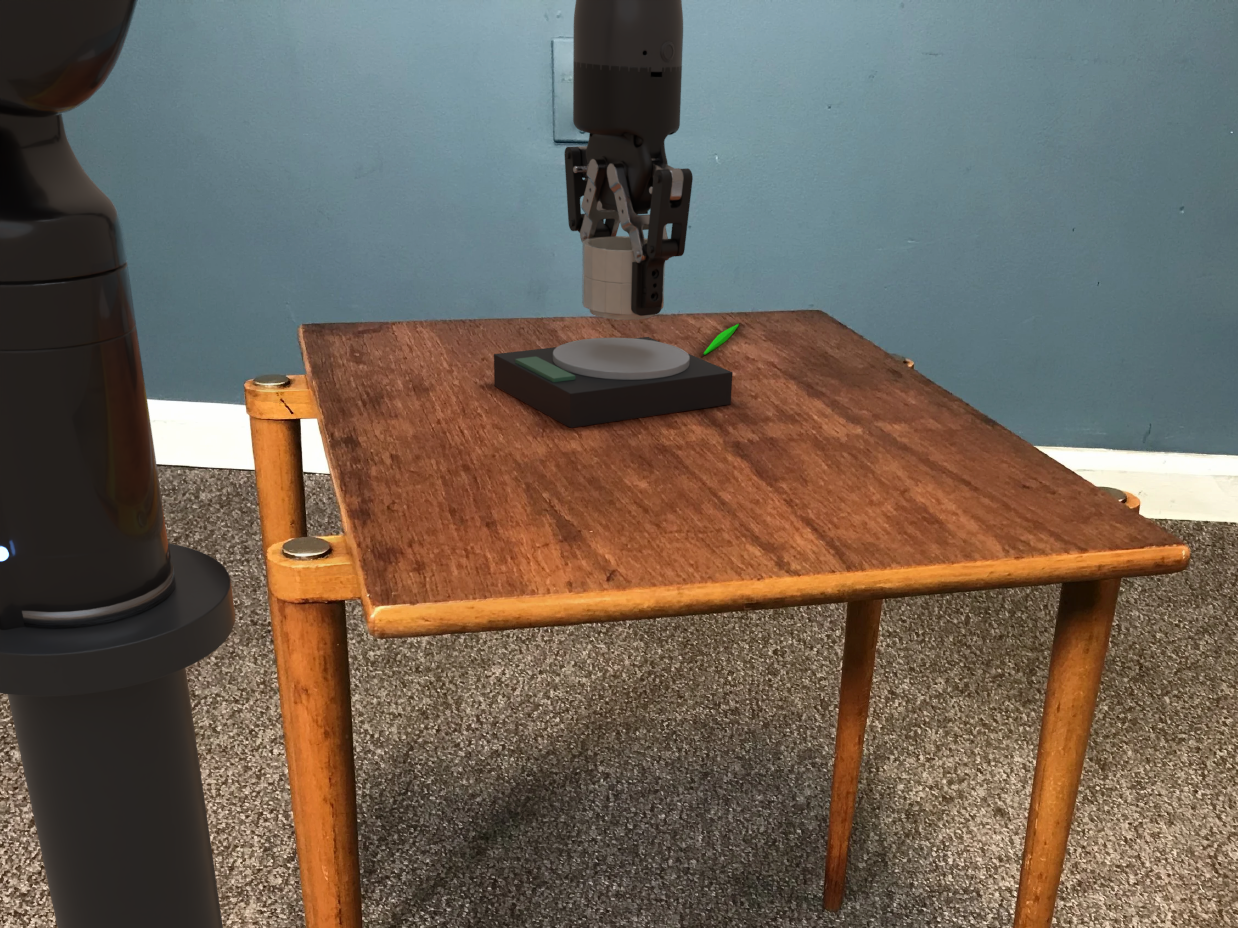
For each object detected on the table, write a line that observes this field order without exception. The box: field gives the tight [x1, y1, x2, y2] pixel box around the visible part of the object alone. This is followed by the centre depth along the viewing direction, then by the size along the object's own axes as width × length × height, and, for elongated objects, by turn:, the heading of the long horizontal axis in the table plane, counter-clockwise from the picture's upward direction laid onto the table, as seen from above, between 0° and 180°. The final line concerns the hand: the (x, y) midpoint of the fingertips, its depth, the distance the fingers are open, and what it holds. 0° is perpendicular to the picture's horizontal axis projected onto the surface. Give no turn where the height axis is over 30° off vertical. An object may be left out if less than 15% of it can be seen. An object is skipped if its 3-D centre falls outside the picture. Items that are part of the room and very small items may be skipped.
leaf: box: [700, 323, 741, 357], centre depth 121 cm, size 1×14×1 cm, turn 164°
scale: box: [493, 336, 733, 429], centre depth 103 cm, size 14×12×3 cm
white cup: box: [581, 235, 666, 321], centre depth 101 cm, size 6×6×5 cm
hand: (622, 303), depth 101 cm, fingers closed on white cup, 6 cm apart
